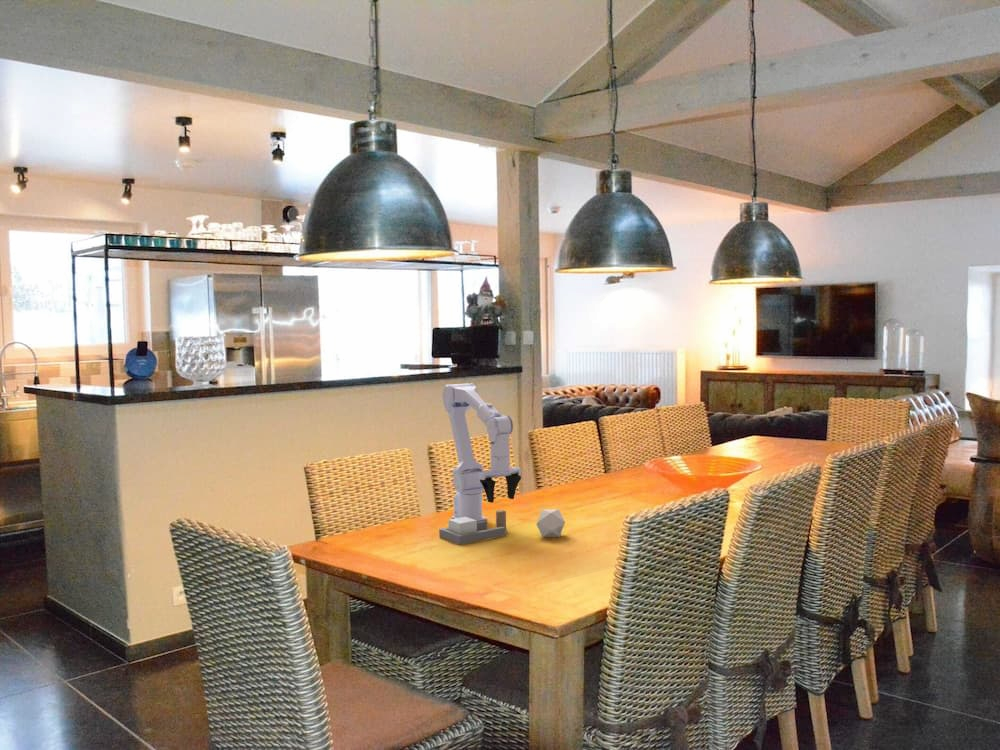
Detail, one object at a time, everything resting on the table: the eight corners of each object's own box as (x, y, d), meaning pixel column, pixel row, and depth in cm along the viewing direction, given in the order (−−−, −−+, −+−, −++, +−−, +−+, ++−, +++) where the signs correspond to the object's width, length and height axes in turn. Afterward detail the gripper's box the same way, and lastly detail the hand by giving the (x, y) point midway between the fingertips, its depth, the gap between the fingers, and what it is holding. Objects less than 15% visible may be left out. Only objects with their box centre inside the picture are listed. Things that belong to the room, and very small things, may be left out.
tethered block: (448, 538, 258) (448, 518, 257) (499, 528, 268) (499, 509, 268) (459, 542, 253) (459, 521, 252) (511, 532, 264) (510, 512, 263)
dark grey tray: (439, 537, 259) (439, 528, 258) (484, 528, 268) (484, 520, 268) (459, 544, 250) (459, 536, 250) (505, 535, 259) (505, 527, 259)
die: (556, 543, 252) (572, 514, 255) (530, 528, 254) (546, 499, 256) (554, 546, 260) (570, 518, 263) (529, 531, 261) (545, 503, 264)
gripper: (488, 460, 256) (488, 505, 257) (527, 455, 264) (527, 499, 265) (474, 457, 262) (475, 501, 263) (513, 452, 270) (513, 495, 271)
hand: (500, 500), depth 264 cm, fingers open, 7 cm apart
